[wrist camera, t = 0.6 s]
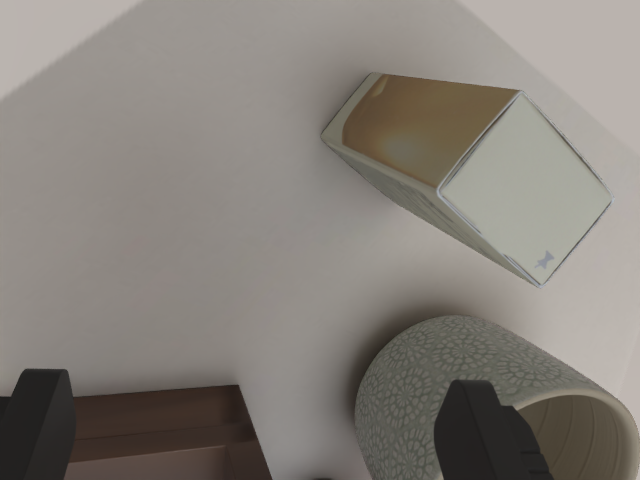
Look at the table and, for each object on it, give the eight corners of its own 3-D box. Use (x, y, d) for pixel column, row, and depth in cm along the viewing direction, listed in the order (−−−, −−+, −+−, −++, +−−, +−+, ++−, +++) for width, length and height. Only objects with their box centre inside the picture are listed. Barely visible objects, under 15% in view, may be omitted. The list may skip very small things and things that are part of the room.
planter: (416, 487, 39) (515, 637, 29) (288, 408, 33) (359, 561, 24) (536, 353, 38) (679, 459, 29) (428, 249, 33) (559, 338, 23)
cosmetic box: (446, 144, 31) (625, 202, 20) (396, 206, 31) (546, 297, 20) (367, 64, 28) (526, 82, 17) (312, 134, 28) (436, 194, 17)
